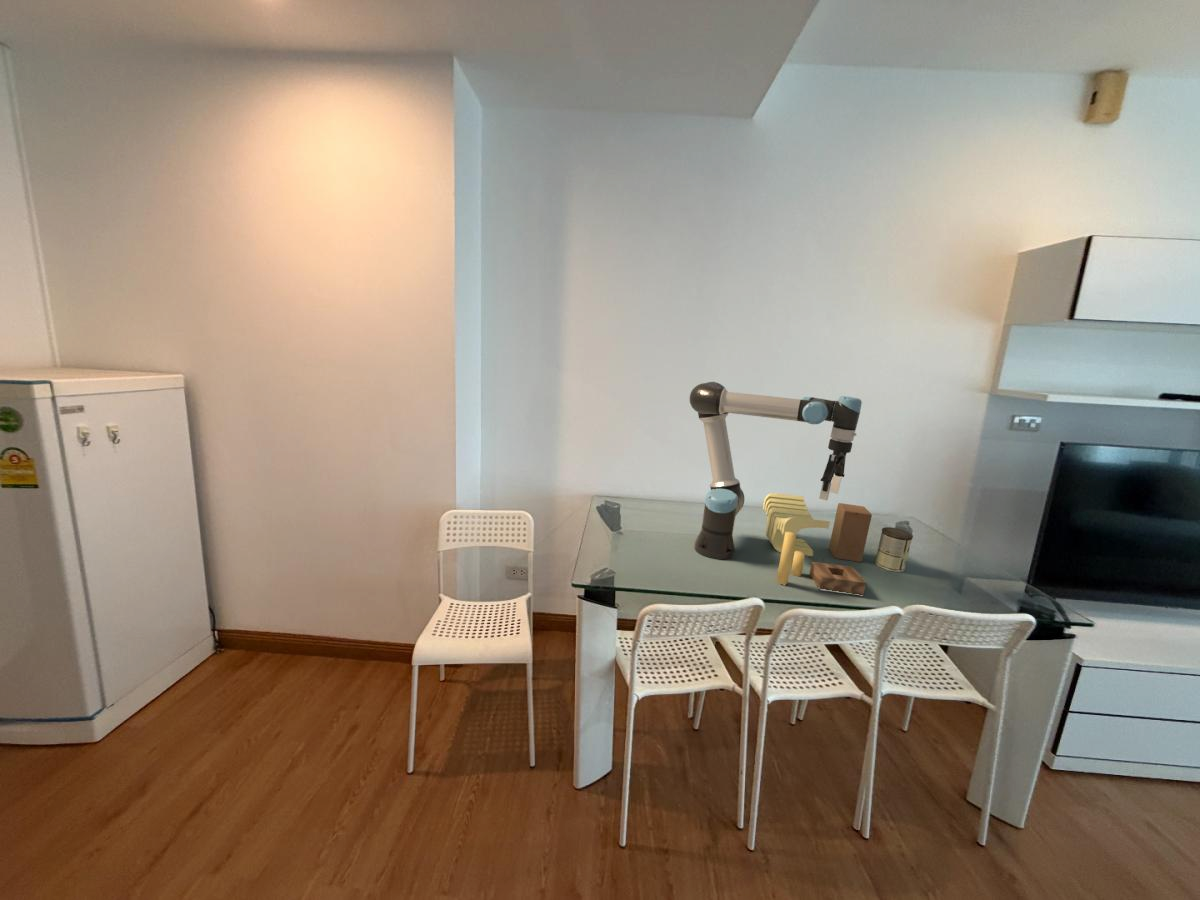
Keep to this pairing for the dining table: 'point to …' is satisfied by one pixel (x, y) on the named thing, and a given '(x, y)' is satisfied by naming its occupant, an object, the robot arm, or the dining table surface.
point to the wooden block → (850, 532)
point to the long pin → (786, 557)
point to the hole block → (837, 578)
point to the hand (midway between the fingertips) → (828, 496)
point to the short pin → (797, 563)
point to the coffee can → (893, 549)
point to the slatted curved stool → (789, 520)
